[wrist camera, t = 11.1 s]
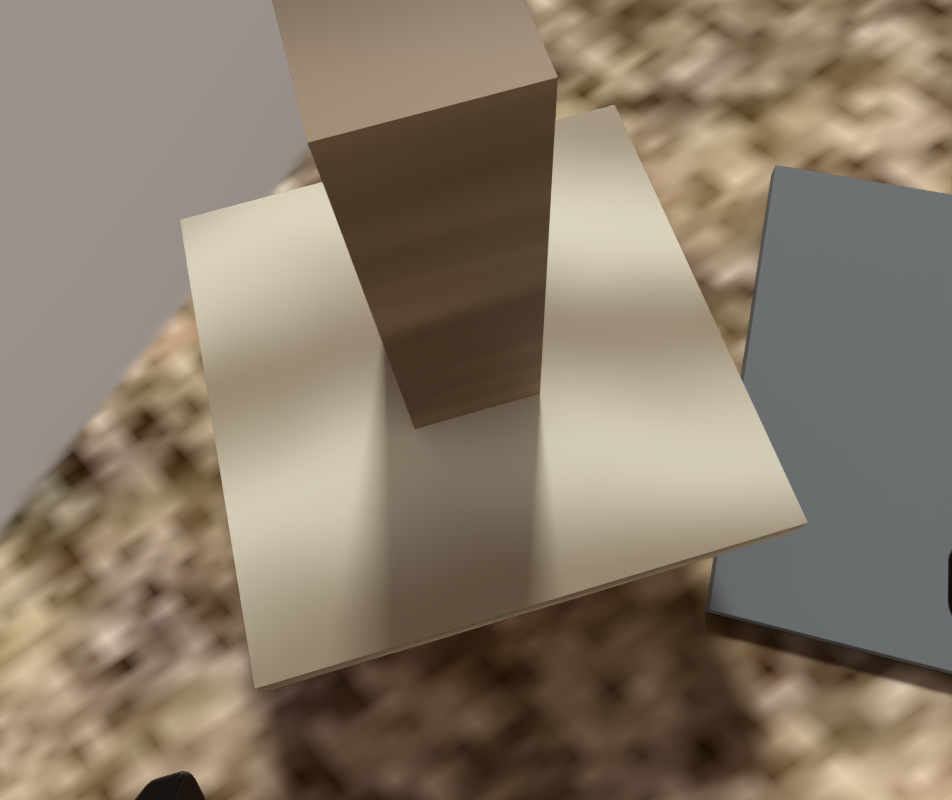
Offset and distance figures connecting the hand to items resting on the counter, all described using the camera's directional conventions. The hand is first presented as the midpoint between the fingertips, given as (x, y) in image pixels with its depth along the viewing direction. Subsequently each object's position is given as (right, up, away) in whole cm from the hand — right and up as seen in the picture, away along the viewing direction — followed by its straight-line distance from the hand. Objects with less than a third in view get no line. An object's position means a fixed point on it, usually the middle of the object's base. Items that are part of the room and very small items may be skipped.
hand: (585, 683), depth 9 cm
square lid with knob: (-2, +4, +10) cm, 11 cm away
